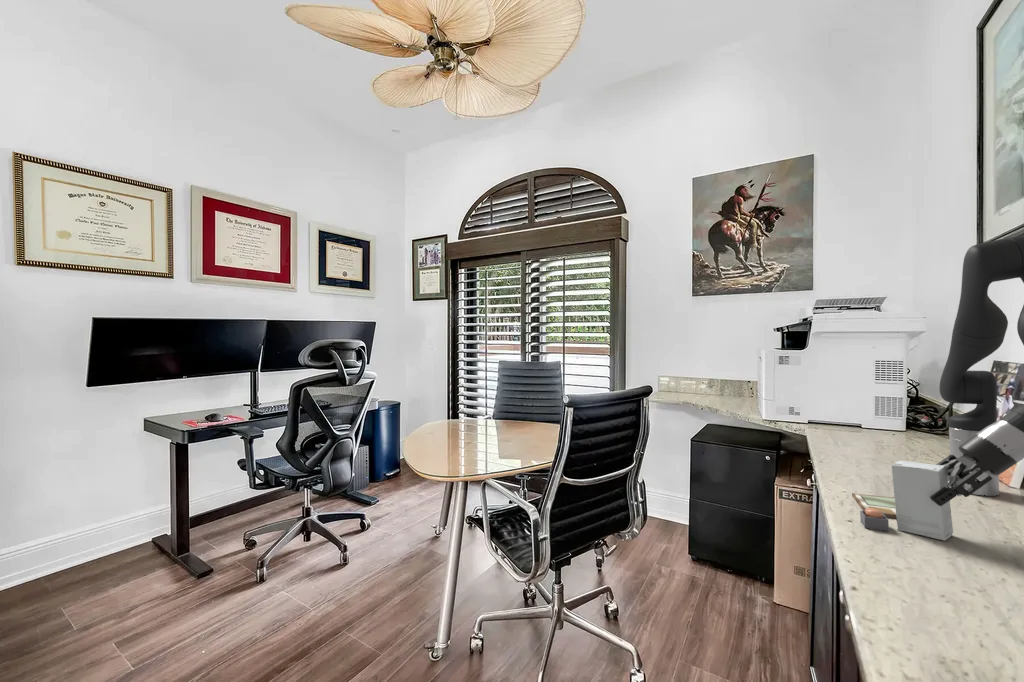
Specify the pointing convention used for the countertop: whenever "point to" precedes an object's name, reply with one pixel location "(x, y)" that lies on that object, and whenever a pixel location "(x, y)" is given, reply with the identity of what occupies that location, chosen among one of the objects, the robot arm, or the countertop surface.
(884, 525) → the button housing
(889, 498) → the picture board
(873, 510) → the button
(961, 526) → the countertop surface
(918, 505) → the skincare box
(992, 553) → the countertop surface
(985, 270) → the robot arm
